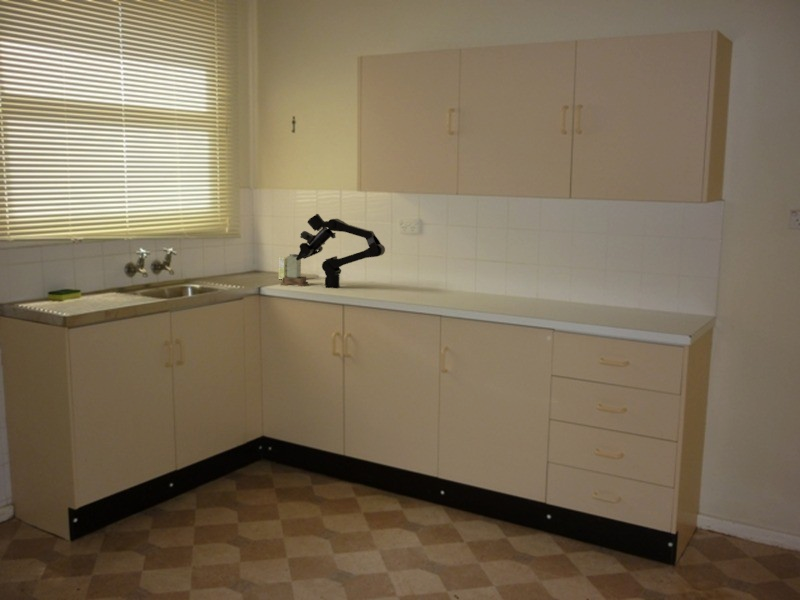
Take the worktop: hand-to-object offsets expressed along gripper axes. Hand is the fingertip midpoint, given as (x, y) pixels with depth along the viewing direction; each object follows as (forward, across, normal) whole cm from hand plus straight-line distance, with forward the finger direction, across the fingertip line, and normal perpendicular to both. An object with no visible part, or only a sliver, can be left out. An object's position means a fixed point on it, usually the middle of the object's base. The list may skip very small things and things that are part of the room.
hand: (300, 258), depth 402 cm
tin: (+11, 0, +6) cm, 12 cm away
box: (+18, -16, +1) cm, 24 cm away
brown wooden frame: (+11, 0, +7) cm, 13 cm away
